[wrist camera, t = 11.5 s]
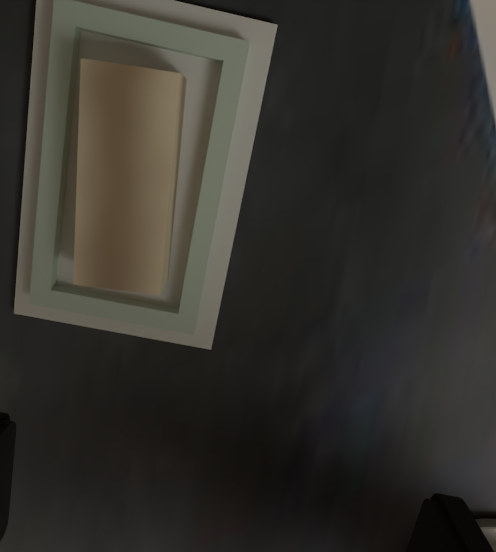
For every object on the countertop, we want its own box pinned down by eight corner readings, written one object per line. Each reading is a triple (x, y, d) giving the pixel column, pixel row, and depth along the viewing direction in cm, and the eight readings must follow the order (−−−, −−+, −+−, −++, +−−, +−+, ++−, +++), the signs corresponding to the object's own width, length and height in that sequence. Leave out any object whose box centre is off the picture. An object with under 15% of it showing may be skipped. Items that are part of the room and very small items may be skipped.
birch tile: (186, 79, 27) (180, 72, 24) (168, 279, 30) (160, 295, 28) (98, 66, 27) (80, 58, 24) (89, 269, 30) (73, 284, 27)
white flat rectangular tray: (211, 346, 32) (210, 356, 31) (17, 310, 31) (6, 319, 30) (276, 26, 27) (278, 20, 25) (42, -29, 26) (30, -38, 24)
